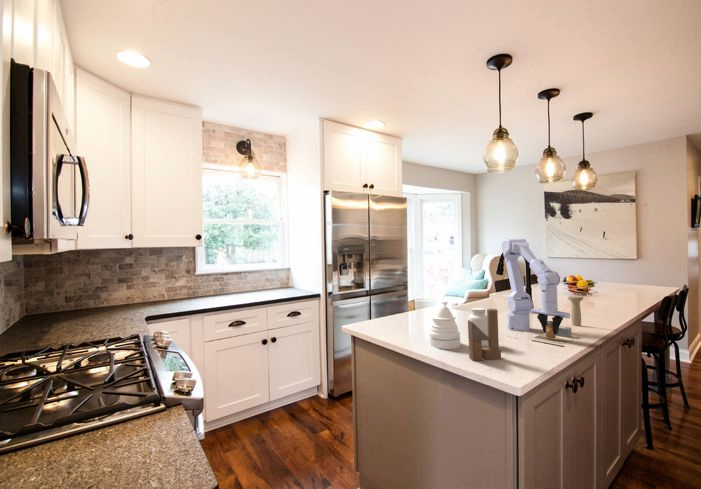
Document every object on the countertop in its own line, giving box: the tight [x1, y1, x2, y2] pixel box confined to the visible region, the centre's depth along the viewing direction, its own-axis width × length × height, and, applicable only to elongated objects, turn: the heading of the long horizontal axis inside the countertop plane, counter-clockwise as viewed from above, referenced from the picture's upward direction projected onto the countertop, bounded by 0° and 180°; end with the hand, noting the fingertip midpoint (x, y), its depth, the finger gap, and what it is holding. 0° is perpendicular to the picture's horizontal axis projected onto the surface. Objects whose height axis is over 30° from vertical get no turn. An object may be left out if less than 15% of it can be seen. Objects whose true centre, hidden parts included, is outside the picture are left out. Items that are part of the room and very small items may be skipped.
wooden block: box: [467, 308, 502, 362], centre depth 123 cm, size 4×11×18 cm, turn 96°
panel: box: [531, 332, 581, 348], centre depth 143 cm, size 20×12×1 cm, turn 128°
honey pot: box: [428, 300, 461, 350], centre depth 142 cm, size 13×13×18 cm
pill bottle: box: [468, 307, 488, 348], centre depth 140 cm, size 8×8×15 cm
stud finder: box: [555, 325, 573, 338], centre depth 145 cm, size 4×7×4 cm, turn 42°
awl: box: [546, 320, 555, 338], centre depth 140 cm, size 3×3×6 cm
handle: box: [567, 295, 584, 327], centre depth 161 cm, size 5×6×15 cm
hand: (550, 333), depth 140 cm, fingers closed on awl, 3 cm apart
